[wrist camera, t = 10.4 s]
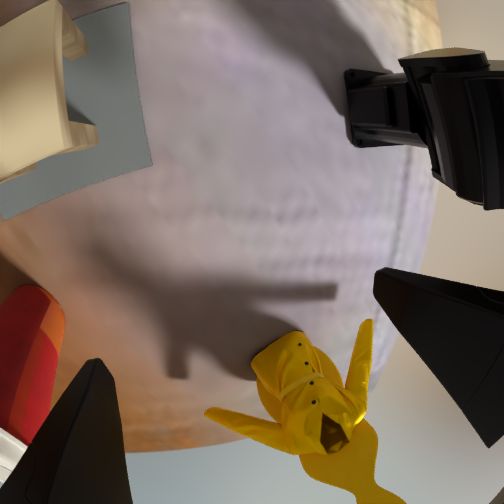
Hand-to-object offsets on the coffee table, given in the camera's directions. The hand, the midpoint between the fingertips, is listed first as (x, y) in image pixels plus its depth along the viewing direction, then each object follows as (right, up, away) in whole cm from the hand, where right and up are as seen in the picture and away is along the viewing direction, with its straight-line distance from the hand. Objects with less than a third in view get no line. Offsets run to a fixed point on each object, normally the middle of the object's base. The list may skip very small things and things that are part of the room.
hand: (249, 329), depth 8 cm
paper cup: (-17, -3, +9) cm, 20 cm away
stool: (-12, +11, +4) cm, 17 cm away
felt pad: (-13, +11, +4) cm, 18 cm away
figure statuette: (+3, -8, +19) cm, 21 cm away
